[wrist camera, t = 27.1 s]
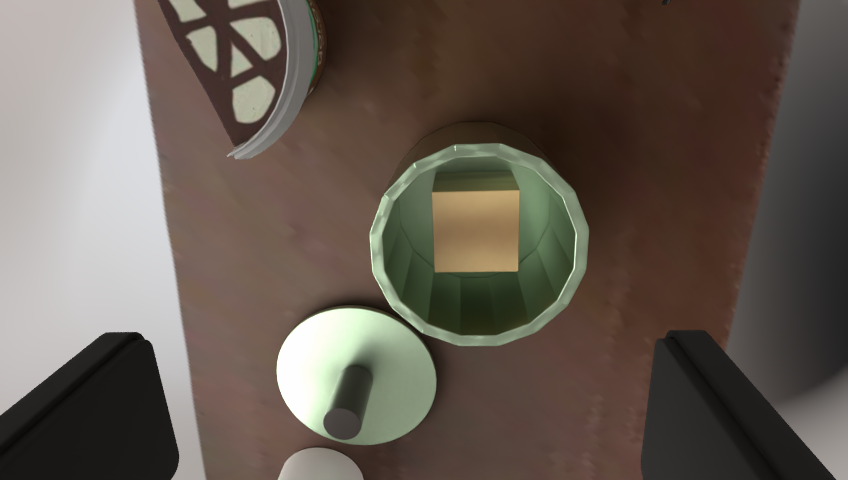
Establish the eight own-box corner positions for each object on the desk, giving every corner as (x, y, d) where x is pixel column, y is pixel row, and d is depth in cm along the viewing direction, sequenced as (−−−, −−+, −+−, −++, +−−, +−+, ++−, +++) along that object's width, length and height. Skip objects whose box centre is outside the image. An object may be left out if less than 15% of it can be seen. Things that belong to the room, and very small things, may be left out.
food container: (378, 99, 34) (347, 119, 24) (293, 135, 35) (232, 167, 25) (291, -107, 30) (215, -179, 21) (200, -60, 31) (88, -107, 22)
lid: (270, 301, 39) (238, 344, 33) (434, 300, 38) (429, 344, 32) (291, 435, 43) (265, 494, 38) (439, 436, 42) (436, 497, 37)
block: (435, 172, 34) (431, 191, 30) (512, 170, 34) (520, 190, 29) (437, 243, 36) (434, 272, 31) (510, 242, 36) (518, 271, 31)
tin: (384, 124, 34) (362, 146, 26) (563, 118, 33) (595, 140, 25) (395, 284, 38) (378, 346, 30) (555, 282, 37) (581, 346, 29)
